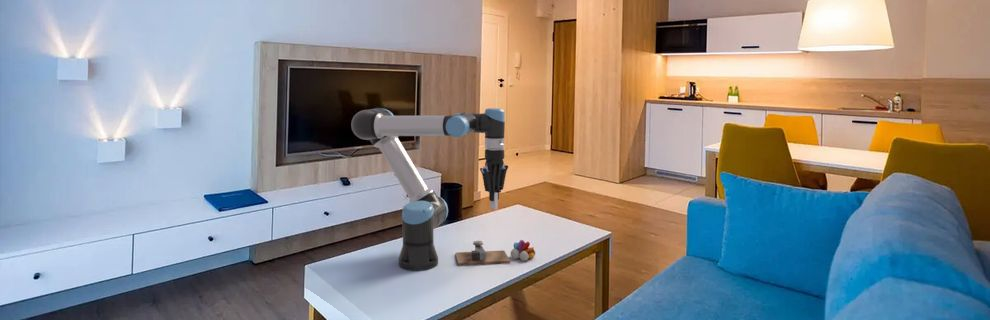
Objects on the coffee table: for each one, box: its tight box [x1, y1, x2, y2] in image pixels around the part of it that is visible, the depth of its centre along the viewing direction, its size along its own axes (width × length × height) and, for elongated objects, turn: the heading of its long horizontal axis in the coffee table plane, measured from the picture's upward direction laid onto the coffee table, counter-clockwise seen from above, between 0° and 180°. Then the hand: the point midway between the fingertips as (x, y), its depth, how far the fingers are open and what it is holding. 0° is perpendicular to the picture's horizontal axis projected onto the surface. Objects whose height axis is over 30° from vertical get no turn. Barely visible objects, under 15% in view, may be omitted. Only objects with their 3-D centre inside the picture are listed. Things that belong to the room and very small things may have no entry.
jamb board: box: [455, 240, 511, 267], centre depth 211 cm, size 20×13×5 cm, turn 99°
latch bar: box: [476, 245, 486, 260], centre depth 209 cm, size 8×2×3 cm, turn 12°
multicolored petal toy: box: [510, 239, 536, 262], centre depth 212 cm, size 8×10×7 cm
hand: (493, 208), depth 208 cm, fingers closed
